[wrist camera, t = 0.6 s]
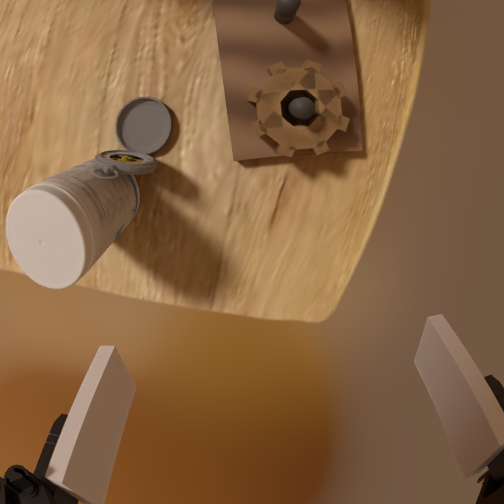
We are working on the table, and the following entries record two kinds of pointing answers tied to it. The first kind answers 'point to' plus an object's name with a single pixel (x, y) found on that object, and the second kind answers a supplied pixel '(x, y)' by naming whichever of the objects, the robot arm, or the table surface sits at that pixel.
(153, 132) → the pocket watch
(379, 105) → the table surface
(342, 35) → the gear board
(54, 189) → the supplement tub
